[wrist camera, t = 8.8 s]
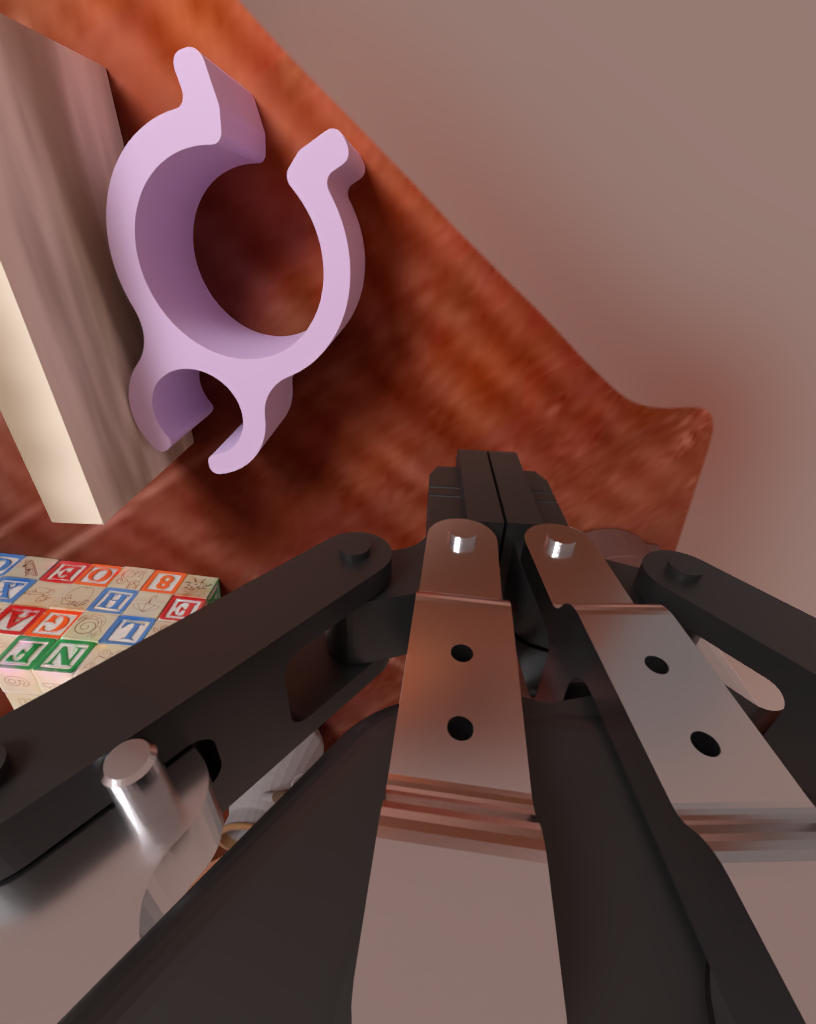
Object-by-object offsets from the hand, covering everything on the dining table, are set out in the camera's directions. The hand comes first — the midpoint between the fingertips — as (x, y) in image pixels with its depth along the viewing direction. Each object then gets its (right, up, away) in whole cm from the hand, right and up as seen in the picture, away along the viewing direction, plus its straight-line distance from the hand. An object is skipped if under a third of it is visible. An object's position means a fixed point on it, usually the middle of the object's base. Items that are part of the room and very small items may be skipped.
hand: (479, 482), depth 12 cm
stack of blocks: (-31, -8, +33) cm, 46 cm away
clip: (-12, +14, +19) cm, 26 cm away
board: (-20, +14, +18) cm, 31 cm away
